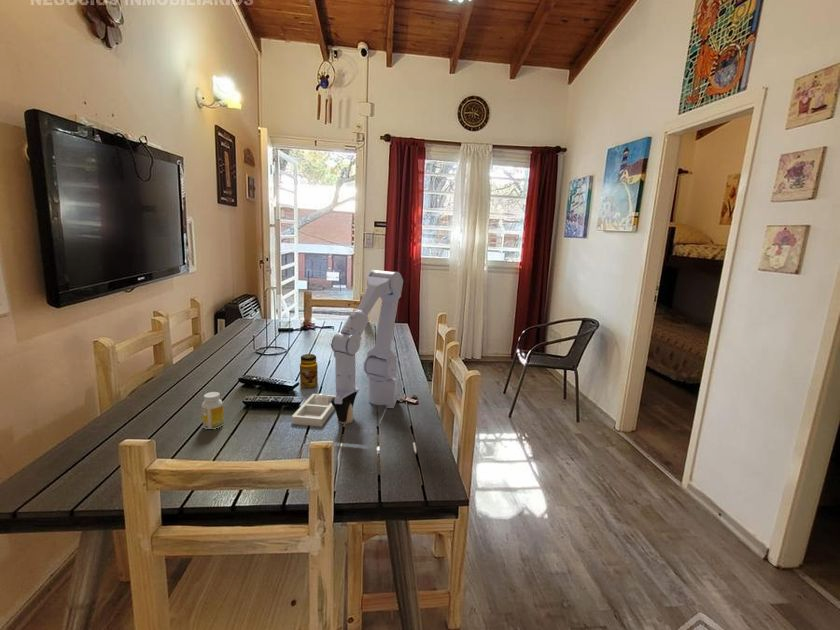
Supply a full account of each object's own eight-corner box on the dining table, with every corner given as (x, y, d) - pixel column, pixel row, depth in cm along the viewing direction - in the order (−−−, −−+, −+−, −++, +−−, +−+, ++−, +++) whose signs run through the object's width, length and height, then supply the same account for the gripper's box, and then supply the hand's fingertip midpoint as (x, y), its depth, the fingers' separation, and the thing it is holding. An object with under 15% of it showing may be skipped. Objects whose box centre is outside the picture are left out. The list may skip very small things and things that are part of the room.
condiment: (308, 393, 144) (308, 360, 141) (291, 387, 148) (290, 355, 145) (323, 386, 150) (323, 355, 147) (306, 381, 154) (305, 350, 151)
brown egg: (354, 420, 125) (354, 399, 124) (350, 426, 121) (350, 405, 119) (340, 418, 126) (340, 398, 124) (335, 425, 121) (335, 404, 120)
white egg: (330, 404, 133) (330, 391, 132) (325, 410, 129) (325, 397, 128) (317, 403, 134) (317, 390, 133) (312, 409, 129) (312, 395, 128)
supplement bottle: (199, 430, 115) (197, 398, 113) (207, 421, 120) (205, 390, 118) (220, 430, 116) (217, 398, 114) (226, 421, 121) (225, 390, 119)
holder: (339, 404, 135) (339, 395, 135) (321, 428, 119) (321, 419, 118) (312, 402, 136) (312, 393, 136) (291, 426, 120) (291, 416, 119)
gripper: (352, 383, 113) (351, 429, 115) (364, 366, 127) (364, 407, 129) (327, 381, 113) (327, 427, 116) (342, 364, 127) (342, 405, 130)
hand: (345, 416), depth 123 cm, fingers open, 6 cm apart
